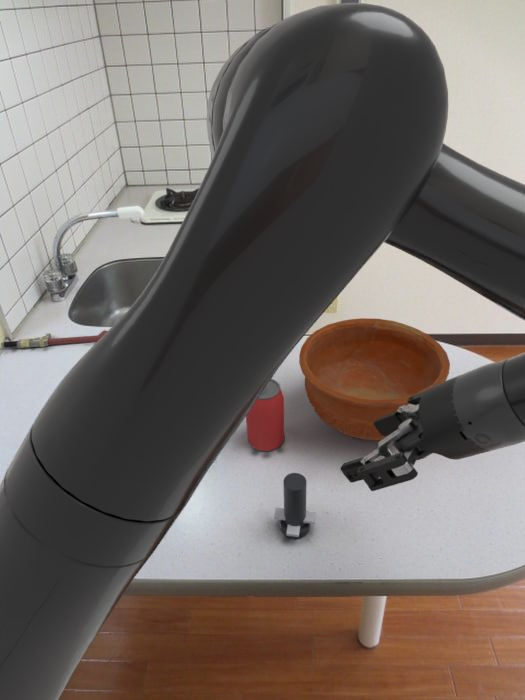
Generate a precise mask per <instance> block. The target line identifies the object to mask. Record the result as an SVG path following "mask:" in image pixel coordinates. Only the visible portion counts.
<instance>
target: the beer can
mask: <svg viewBox="0 0 525 700" xmlns="http://www.w3.org/2000/svg"><path fill="white" fill-rule="evenodd" d="M284 401H285V397H284V394H283V391H282V389H281V384H280V383H279V382H278V381H277V380H275V379H273V378H271V380H270V381H269V382H268V384H267V385H266V387H265V388H264V390H263V391H262V393H261V394H260V396H259V398H258V399H257V401H256V402H255V404H254V405H253V407H252V408H251V410H250V411H249V412H248V414H247V415H246V417H245V421H246V422H245V423H246V435H247V442H248V443H249V445H250V447H252V448H253V449H254V450H257V451H259V452H260V451H261V452H270V451H274V450H276V449H278V448H279V447H281V446H282V444H283V443H284V441H285V402H284Z"/></svg>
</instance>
